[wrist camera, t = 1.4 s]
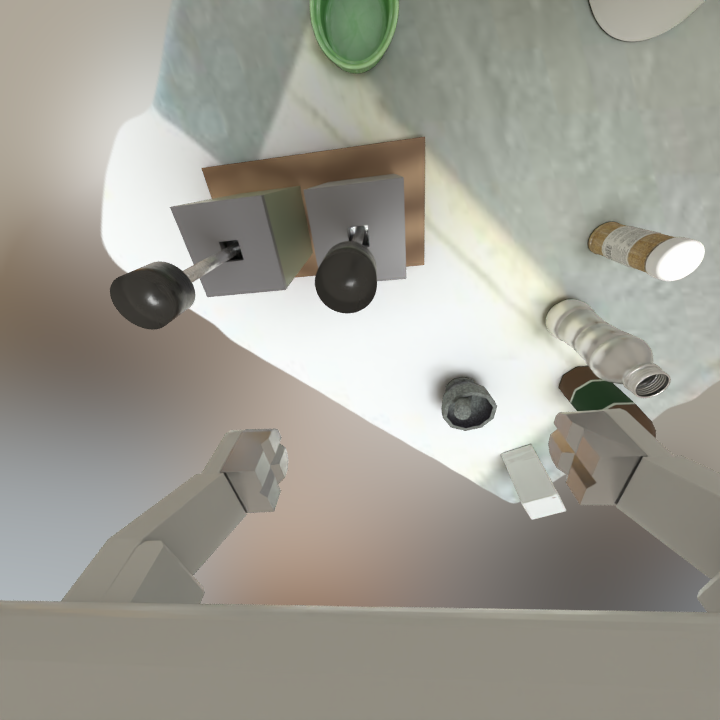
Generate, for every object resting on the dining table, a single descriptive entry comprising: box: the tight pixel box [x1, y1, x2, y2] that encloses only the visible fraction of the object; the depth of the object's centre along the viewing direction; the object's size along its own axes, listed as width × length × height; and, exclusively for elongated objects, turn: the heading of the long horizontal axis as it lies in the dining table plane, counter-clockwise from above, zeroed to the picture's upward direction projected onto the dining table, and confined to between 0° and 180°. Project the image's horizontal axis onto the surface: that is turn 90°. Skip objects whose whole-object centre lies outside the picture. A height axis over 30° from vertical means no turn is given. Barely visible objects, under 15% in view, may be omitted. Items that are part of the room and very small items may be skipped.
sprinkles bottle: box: [588, 222, 705, 281], centre depth 38 cm, size 5×5×13 cm
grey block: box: [303, 174, 406, 281], centre depth 35 cm, size 9×9×16 cm
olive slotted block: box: [170, 186, 313, 297], centre depth 37 cm, size 9×9×16 cm
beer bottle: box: [559, 366, 656, 438], centre depth 48 cm, size 8×8×24 cm
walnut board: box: [202, 137, 425, 277], centre depth 43 cm, size 16×30×2 cm, turn 96°
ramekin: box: [310, 0, 399, 73], centre depth 31 cm, size 9×9×4 cm
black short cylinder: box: [315, 225, 377, 313], centre depth 25 cm, size 7×7×19 cm
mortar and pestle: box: [442, 377, 497, 431], centre depth 55 cm, size 11×9×12 cm
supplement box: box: [501, 444, 566, 519], centre depth 66 cm, size 7×7×13 cm
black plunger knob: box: [110, 240, 244, 329], centre depth 26 cm, size 7×7×19 cm
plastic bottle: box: [545, 299, 671, 398], centre depth 42 cm, size 6×7×20 cm
